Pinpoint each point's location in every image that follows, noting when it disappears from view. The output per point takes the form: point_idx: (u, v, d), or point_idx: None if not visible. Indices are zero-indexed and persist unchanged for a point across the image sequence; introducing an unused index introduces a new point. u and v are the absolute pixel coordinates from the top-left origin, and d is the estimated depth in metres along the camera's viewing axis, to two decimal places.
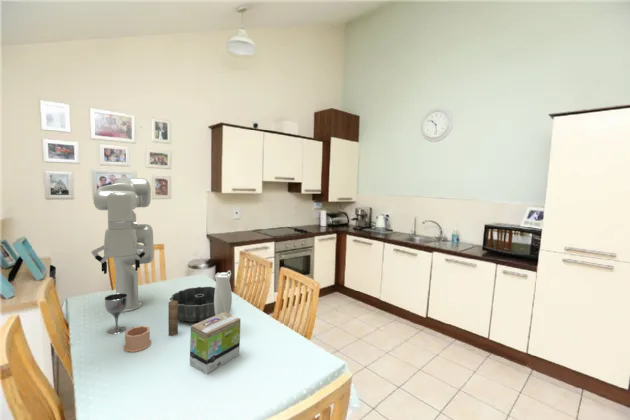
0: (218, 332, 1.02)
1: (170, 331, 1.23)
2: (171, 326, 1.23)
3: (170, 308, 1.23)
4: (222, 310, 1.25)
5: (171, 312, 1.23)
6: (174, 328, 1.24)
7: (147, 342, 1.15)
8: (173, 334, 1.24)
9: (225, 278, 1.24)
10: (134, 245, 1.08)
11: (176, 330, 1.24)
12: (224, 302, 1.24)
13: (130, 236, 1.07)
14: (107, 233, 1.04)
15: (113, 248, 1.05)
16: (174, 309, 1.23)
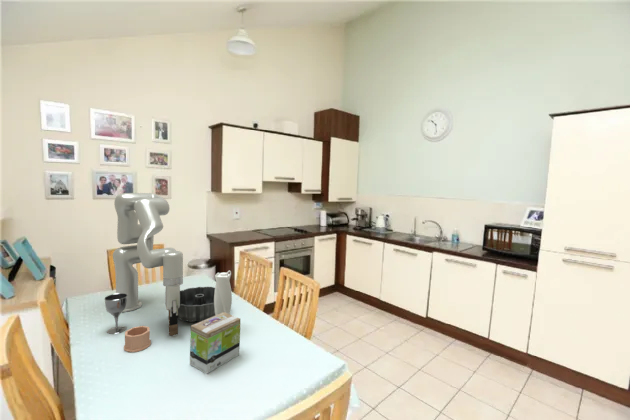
0: (218, 332, 1.02)
1: (170, 331, 1.23)
2: (171, 326, 1.23)
3: None
4: (222, 310, 1.25)
5: None
6: (174, 328, 1.24)
7: (147, 342, 1.15)
8: (173, 334, 1.24)
9: (225, 278, 1.24)
10: None
11: (176, 330, 1.24)
12: (224, 302, 1.24)
13: None
14: (179, 288, 1.21)
15: None
16: None
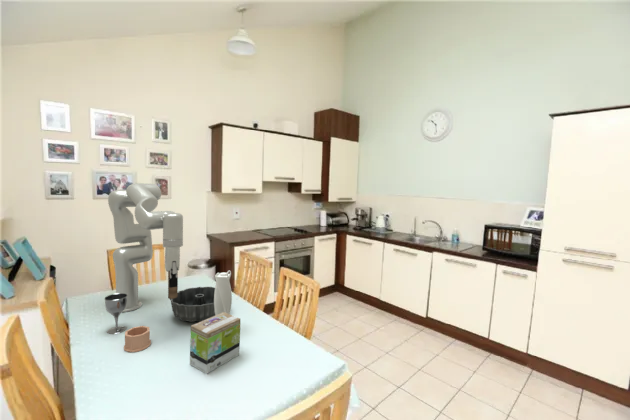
0: (218, 332, 1.02)
1: (170, 294, 1.22)
2: (171, 289, 1.22)
3: None
4: (222, 310, 1.25)
5: None
6: (174, 290, 1.22)
7: (147, 342, 1.15)
8: (173, 297, 1.22)
9: (225, 278, 1.24)
10: None
11: (176, 293, 1.23)
12: (224, 302, 1.24)
13: None
14: (179, 249, 1.20)
15: None
16: None
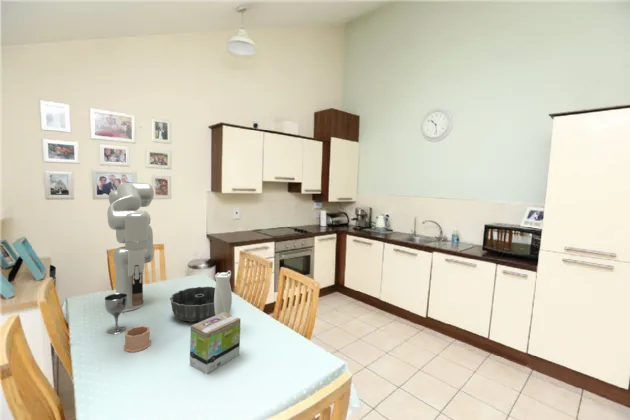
0: (218, 332, 1.02)
1: (133, 301, 1.12)
2: (134, 295, 1.12)
3: None
4: (222, 310, 1.25)
5: None
6: (138, 297, 1.12)
7: (147, 342, 1.15)
8: (137, 304, 1.12)
9: (225, 278, 1.24)
10: None
11: (140, 300, 1.13)
12: (224, 302, 1.24)
13: None
14: (142, 252, 1.10)
15: None
16: None
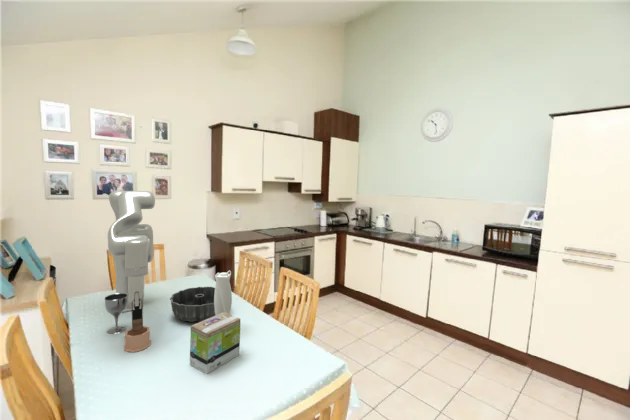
0: (218, 332, 1.02)
1: (133, 326, 1.13)
2: (134, 321, 1.12)
3: None
4: (222, 310, 1.25)
5: None
6: (138, 322, 1.13)
7: (147, 342, 1.15)
8: (137, 329, 1.13)
9: (225, 278, 1.24)
10: None
11: (140, 325, 1.14)
12: (224, 302, 1.24)
13: None
14: (142, 279, 1.11)
15: None
16: None
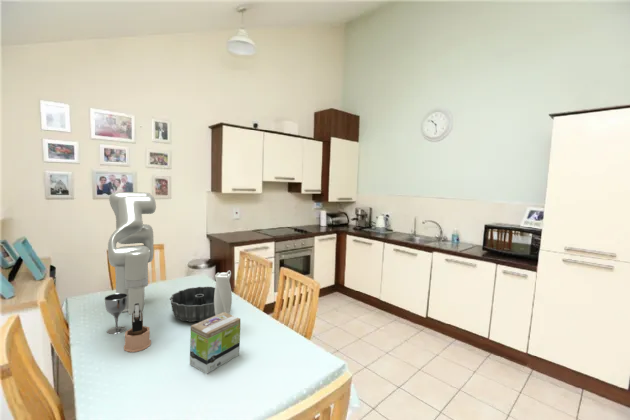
0: (218, 332, 1.02)
1: None
2: None
3: None
4: (222, 310, 1.25)
5: None
6: None
7: (147, 342, 1.15)
8: None
9: (225, 278, 1.24)
10: None
11: None
12: (224, 302, 1.24)
13: None
14: (142, 290, 1.11)
15: None
16: None
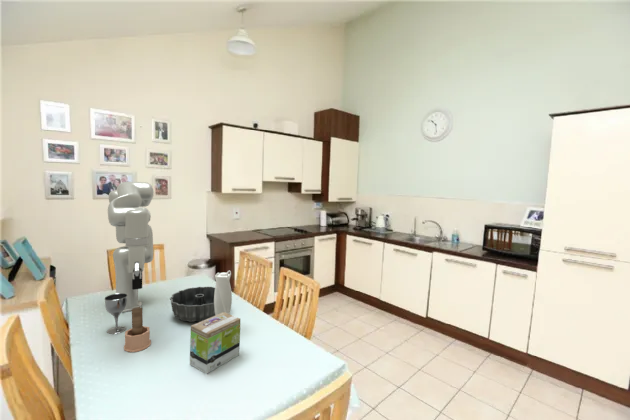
0: (218, 332, 1.02)
1: None
2: None
3: (133, 315, 1.12)
4: (222, 310, 1.25)
5: (134, 319, 1.12)
6: None
7: (147, 342, 1.15)
8: None
9: (225, 278, 1.24)
10: None
11: None
12: (224, 302, 1.24)
13: None
14: (142, 249, 1.10)
15: None
16: (138, 316, 1.13)
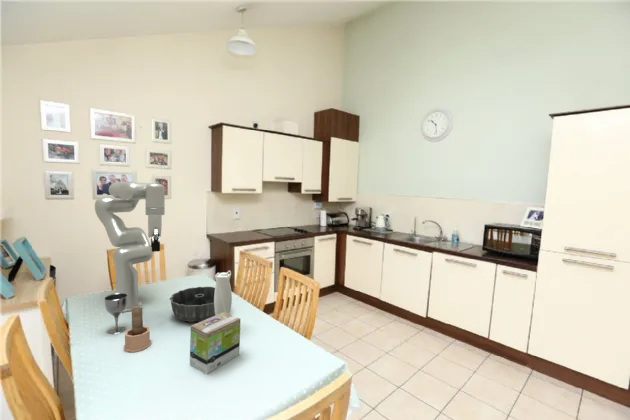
0: (218, 332, 1.02)
1: None
2: None
3: (133, 315, 1.12)
4: (222, 310, 1.25)
5: (134, 319, 1.13)
6: None
7: (147, 342, 1.15)
8: None
9: (225, 278, 1.24)
10: None
11: None
12: (224, 302, 1.24)
13: None
14: (160, 217, 1.29)
15: None
16: (138, 316, 1.13)
